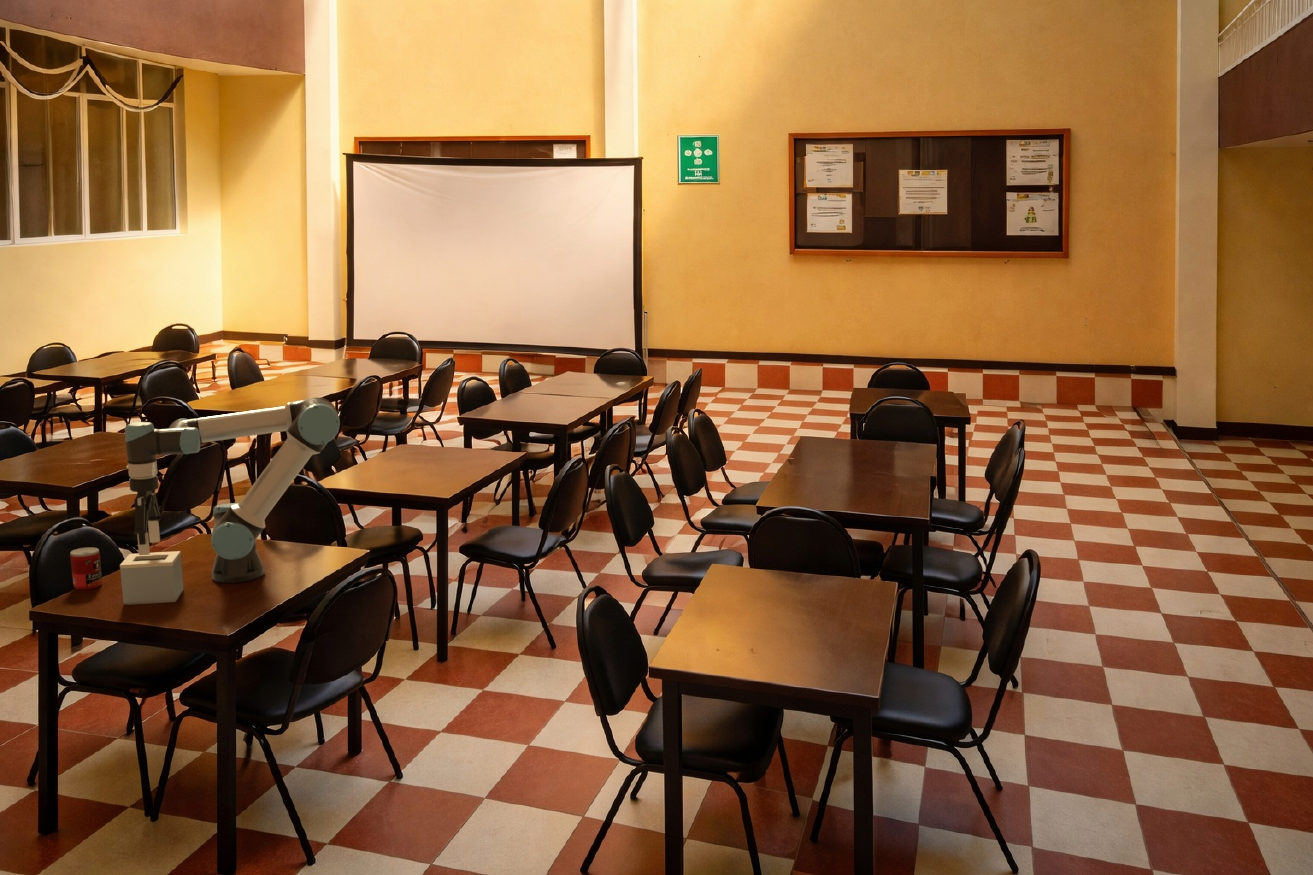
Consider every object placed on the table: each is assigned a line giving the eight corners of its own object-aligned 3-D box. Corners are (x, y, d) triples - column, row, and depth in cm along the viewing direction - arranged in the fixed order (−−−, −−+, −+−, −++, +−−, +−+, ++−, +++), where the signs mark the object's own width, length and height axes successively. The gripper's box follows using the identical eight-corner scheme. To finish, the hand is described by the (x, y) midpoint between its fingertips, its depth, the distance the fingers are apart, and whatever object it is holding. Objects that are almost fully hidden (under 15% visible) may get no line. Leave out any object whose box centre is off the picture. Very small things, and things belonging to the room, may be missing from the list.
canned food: (90, 590, 326) (87, 555, 324) (67, 588, 328) (63, 553, 326) (108, 582, 334) (104, 548, 331) (85, 580, 335) (81, 546, 333)
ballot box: (183, 589, 327) (180, 551, 325) (175, 601, 317) (172, 562, 315) (133, 592, 325) (129, 553, 322) (123, 604, 314) (119, 565, 312)
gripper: (139, 467, 325) (146, 537, 329) (117, 486, 301) (125, 561, 305) (166, 466, 326) (172, 535, 330) (147, 485, 303) (153, 559, 307)
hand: (149, 548), depth 318 cm, fingers open, 12 cm apart
